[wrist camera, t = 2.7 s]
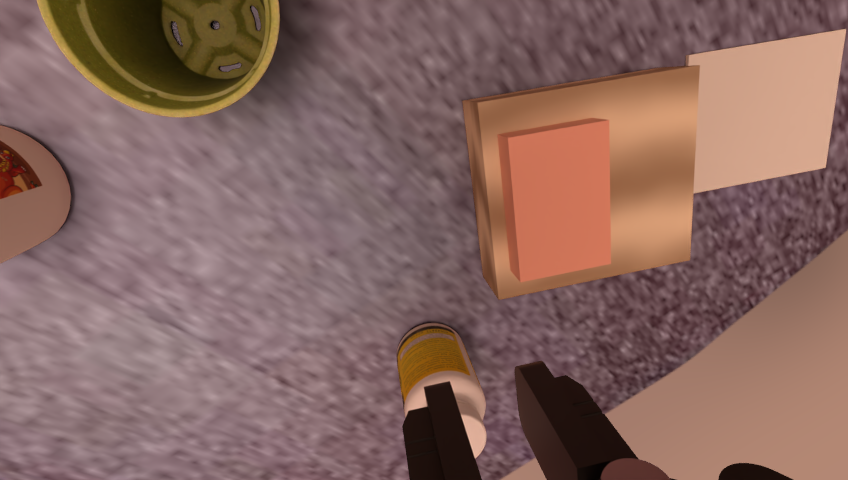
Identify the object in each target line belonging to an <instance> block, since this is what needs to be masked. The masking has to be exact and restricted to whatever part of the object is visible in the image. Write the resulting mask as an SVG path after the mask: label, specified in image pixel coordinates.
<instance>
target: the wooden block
mask: <svg viewBox="0 0 848 480" xmlns="http://www.w3.org/2000/svg"><path fill="white" fill-rule="evenodd" d="M699 73H700V65H693V66H677V67H661V68H654V69H648V70H642V71H636V72H630V73H624V74H618V75H612V76H606V77H600V78H594V79H588V80H582V81H576V82H570V83H564V84H558V85H553V86H547V87H541V88H535V89H529V90H523V91H517V92H511V93H505V94H499V95H493V96H487V97H481V98H475V99H469V100H463V101H462V102H463V111H464V119H465V127H466V136H467V144H468V153H469V161H470V170H471V178H472V187H473V195H474V203H475V212H476V220H477V229H478V237H479V246H480V254H481V263H482V271H483V277H484V279H485V280H486V282H487V283H488V285H489V286H490V288H491V289H492V291H493V292H494V294H495V295H496V297H497V298H498V299H499V300H500V299H505V298H510V297H515V296H520V295H524V294H529V293H534V292H539V291H544V290H549V289H553V288H558V287H563V286H568V285H573V284H577V283H582V282H587V281H592V280H597V279H601V278H606V277H611V276H616V275H621V274H625V273H630V272H635V271H640V270H645V269H649V268H654V267H659V266H664V265H669V264H674V263H678V262H683V261H688V260H690V249H691V230H692V210H693V190H694V171H695V151H696V131H697V112H698V92H699ZM587 118H598V119H606V120H609V145H610V221H611V264H608V265H603V266H598V267H593V268H588V269H584V270H579V271H574V272H569V273H564V274H559V275H554V276H550V277H545V278H540V279H535V280H530V281H525V282H520V281H519V280H518V279H517V278H516V276H515V275H514V274H513V273H512V272H511V270H510V261H509V251H508V240H507V230H506V219H505V209H504V199H503V188H502V178H501V167H500V157H499V146H498V136H497V134H502V133H508V132H514V131H519V130H525V129H531V128H536V127H542V126H548V125H553V124H559V123H565V122H570V121H576V120H582V119H587Z"/></svg>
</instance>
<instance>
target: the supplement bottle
mask: <svg viewBox="0 0 848 480" xmlns="http://www.w3.org/2000/svg"><path fill="white" fill-rule="evenodd" d="M397 366H398V372H399V379H400V386H401V392H402V399H403V407H404V413H405V417H406V416H407V413H408V411H409V410H414V409H418V408H423V407H427V403H426V397H425V392H424V387H425V386H429V385H434V384H438V383H443V382H448V381H450V383H451V386H452V389H453V392H454V395H455V398H456V401H457V404H458V408H459V411H460V414H461V417H462V420H463V423H464V426H465V429H466V432H467V435H468V439H469V442H470V445H471V448H472V451H473V454H474V457H475V458H476V457H477V456H478V455H479V454H480V453H481V452H482V450H483V448H484V446H485V443H486V430H485V427H484V424H483V421H482V420H483V417H484V414H485V408H486V403H485V397H484V394H483V391H482V388H481V386H480V383H479V381H478V379H477V376H476V374H475V371H474V369H473V366H472V364H471V361H470V359H469V356H468V354H467V351H466V349H465V346H464V344H463V342H462V340H461V338H460V336H459V335H458V334H457V333H456V332H455V331H454V330H453V329H452V328H450V327H448V326H446V325H443V324H438V323H427V324H423V325H420V326H417V327H415V328H414V329H412V330H411V331H409V332H408V333H407V334H406V335H405V336H404V337H403V339H402V340H401V342H400V344H399V346H398V349H397Z"/></svg>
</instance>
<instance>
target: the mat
mask: <svg viewBox="0 0 848 480" xmlns="http://www.w3.org/2000/svg"><path fill="white" fill-rule="evenodd" d="M845 34H846V29H842V30H836V31H830V32H824V33H818V34H812V35H806V36H800V37H794V38H788V39H782V40H776V41H770V42H764V43H758V44H752V45H746V46H740V47H734V48H728V49H722V50H716V51H710V52H704V53H698V54H692V55H686V66H693V65H700V73H699V92H698V112H697V131H696V151H695V171H694V190H693V193H698V192H703V191H708V190H713V189H719V188H724V187H729V186H734V185H739V184H744V183H749V182H755V181H760V180H765V179H770V178H775V177H780V176H785V175H790V174H796V173H801V172H806V171H811V170H816V169H821V168H825V167H826V161H827V154H828V147H829V141H830V134H831V127H832V121H833V114H834V107H835V101H836V94H837V87H838V81H839V74H840V67H841V60H842V54H843V47H844V40H845Z"/></svg>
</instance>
